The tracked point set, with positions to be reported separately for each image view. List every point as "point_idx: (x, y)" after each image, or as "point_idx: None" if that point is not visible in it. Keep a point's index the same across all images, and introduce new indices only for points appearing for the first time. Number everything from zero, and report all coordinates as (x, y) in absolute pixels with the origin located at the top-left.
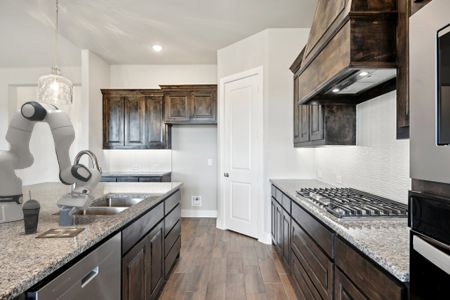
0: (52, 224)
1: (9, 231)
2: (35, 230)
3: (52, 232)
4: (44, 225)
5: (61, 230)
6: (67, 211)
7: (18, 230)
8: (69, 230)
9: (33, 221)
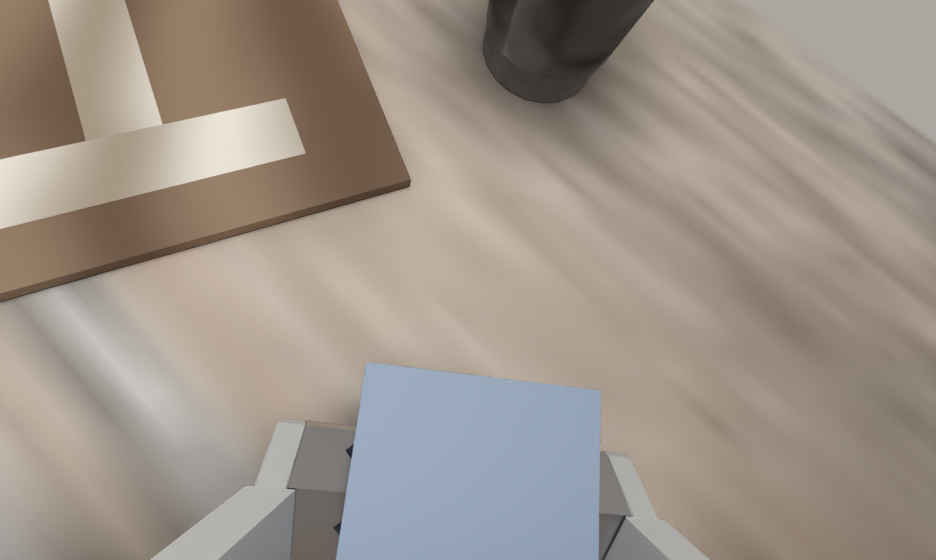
0: (642, 432)
1: (774, 59)
2: (488, 36)
3: (234, 35)
4: (691, 350)
5: (177, 128)
6: (354, 451)
7: (736, 100)
8: (42, 149)
9: None
